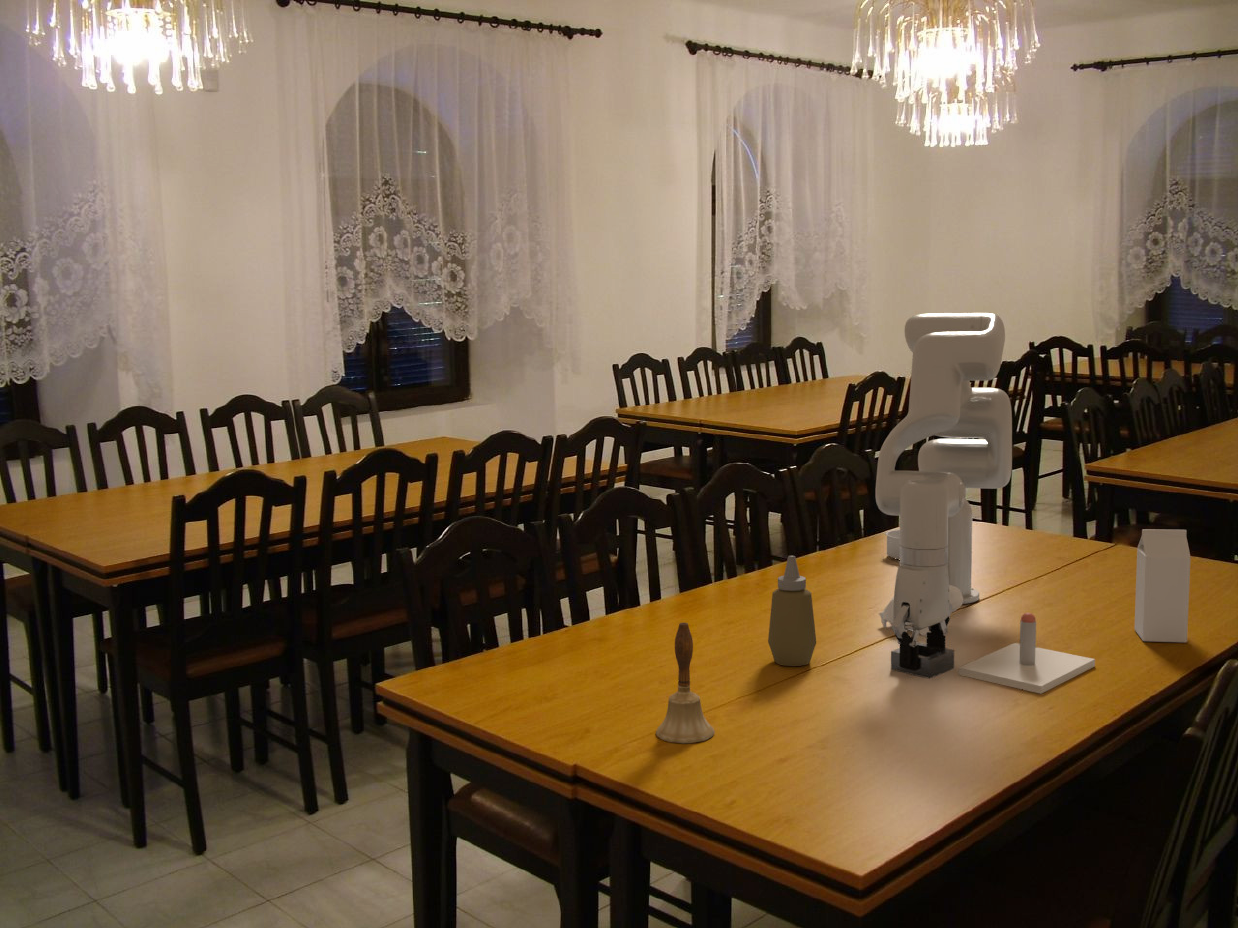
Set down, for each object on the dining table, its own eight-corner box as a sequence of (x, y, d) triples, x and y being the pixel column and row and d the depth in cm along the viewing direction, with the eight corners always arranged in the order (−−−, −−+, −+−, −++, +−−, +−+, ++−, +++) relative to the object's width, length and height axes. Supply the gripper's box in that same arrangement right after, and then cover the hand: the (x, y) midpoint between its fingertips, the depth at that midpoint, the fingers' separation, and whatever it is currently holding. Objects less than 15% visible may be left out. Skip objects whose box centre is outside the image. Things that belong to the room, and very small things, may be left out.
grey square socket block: (890, 669, 201) (891, 651, 200) (915, 659, 206) (915, 641, 205) (929, 678, 196) (929, 660, 195) (953, 667, 201) (954, 650, 200)
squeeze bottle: (820, 656, 208) (820, 552, 206) (812, 671, 201) (811, 563, 198) (773, 653, 211) (772, 550, 208) (763, 667, 203) (762, 560, 201)
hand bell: (652, 724, 179) (650, 617, 176) (709, 721, 179) (707, 614, 177) (659, 745, 170) (657, 633, 168) (719, 742, 171) (717, 630, 169)
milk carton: (1187, 643, 210) (1191, 534, 208) (1142, 642, 212) (1146, 533, 209) (1177, 631, 217) (1181, 525, 215) (1134, 630, 219) (1137, 525, 216)
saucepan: (951, 572, 266) (951, 546, 265) (874, 558, 281) (874, 534, 280) (980, 563, 274) (980, 538, 273) (904, 550, 288) (904, 527, 287)
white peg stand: (958, 674, 197) (959, 616, 196) (1014, 649, 209) (1015, 595, 208) (1041, 693, 187) (1042, 633, 186) (1094, 666, 199) (1096, 609, 198)
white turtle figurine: (885, 646, 224) (959, 628, 214) (870, 601, 225) (942, 581, 215) (906, 635, 230) (979, 617, 221) (891, 591, 231) (963, 572, 222)
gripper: (932, 544, 207) (931, 646, 209) (872, 562, 195) (872, 670, 197) (972, 550, 201) (971, 655, 204) (913, 569, 189) (912, 680, 192)
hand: (922, 662), depth 200 cm, fingers closed on grey square socket block, 7 cm apart
